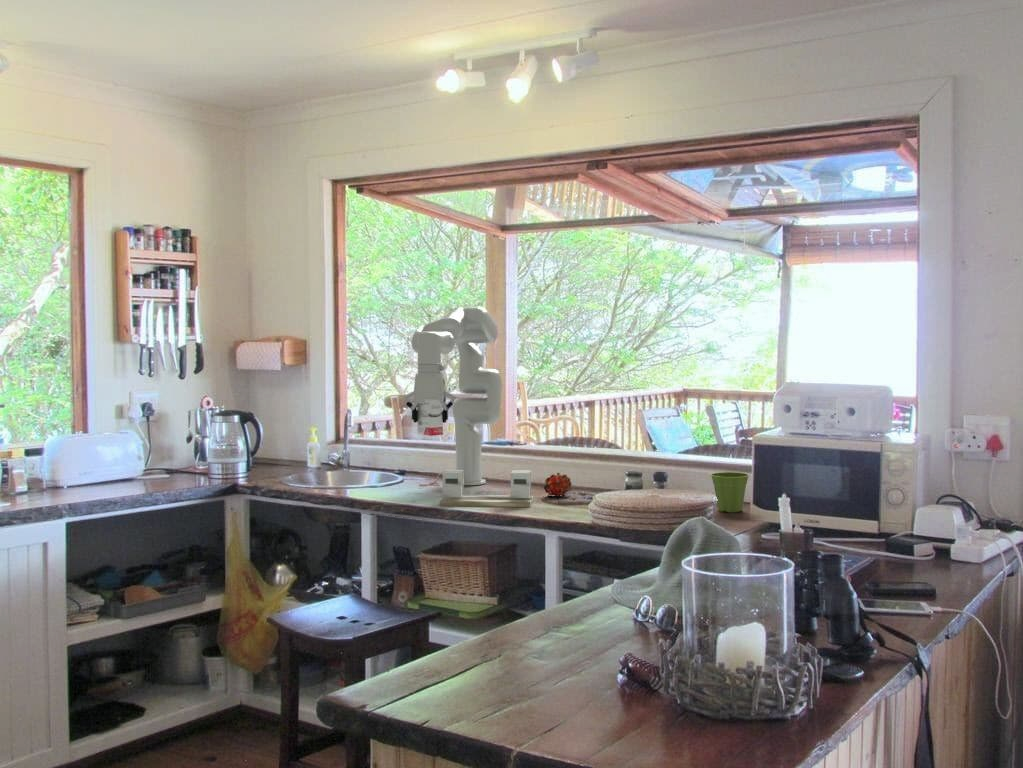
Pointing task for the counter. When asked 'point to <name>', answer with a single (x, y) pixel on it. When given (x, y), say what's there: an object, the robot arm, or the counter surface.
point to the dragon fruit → (557, 484)
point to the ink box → (430, 418)
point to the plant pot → (730, 490)
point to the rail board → (456, 497)
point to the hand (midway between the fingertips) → (429, 422)
